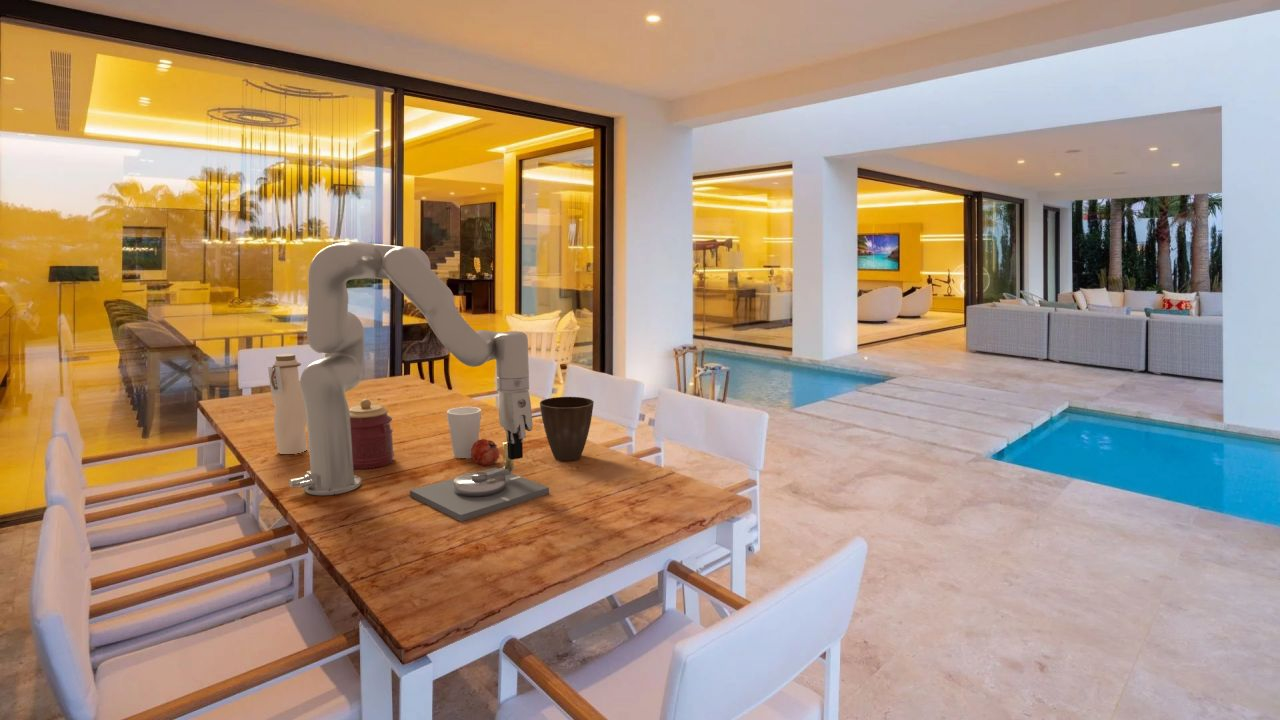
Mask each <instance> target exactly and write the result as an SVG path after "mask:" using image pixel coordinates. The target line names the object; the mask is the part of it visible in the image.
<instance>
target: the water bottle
mask: <svg viewBox="0 0 1280 720" xmlns="http://www.w3.org/2000/svg"><path fill="white" fill-rule="evenodd" d="M300 366H302V363H300V362H298V359H297V358H296V354H295V353H282V354H277V355H275V360H274V364H272V366H270V367H269V366H268V367H267V369H268V378H269V385H270V394H271V399H272V402H273V406H274V413H273V431H274V433H273V434H274V438H275V443H276V449H277V454H278V453H280V454H295V455H298V454H297V453H300V454H302V453H301V452H303V453H305V452H304V451H306V450H307V451H309V446H308V441H307V439H308V438H307V432H306V428H307V419H306V410H305V404H304V400H303V396H302V392H301V388H300V375H299V367H300ZM307 451H306V452H307ZM280 454H279V455H280Z"/></svg>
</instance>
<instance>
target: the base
mask: <svg viewBox="0 0 1280 720" xmlns="http://www.w3.org/2000/svg"><path fill="white" fill-rule="evenodd" d="M496 469H499V467H496V466H494V467H492V468H488V469H485V470H482V471H489V472H490V471H493V470H496ZM455 478H456V477H454V478H450V479H446V480H442V481H439V482H435V483H432V484H428V485H424V486H421V487H416V488H413V489H410V490H409V496H410V497H411V498H413V499H415V500H417V501H419V502H421V503H423V504H425V505H428V506H429V507H431V508H433V509H435V510H437V511H439V512H441V513H443V514H445V515H447V516H448V517H451V518H453V519H455V520H457V521H459V522H464V521H468V520H471V519H475V518H477V517H480V516H483V515H484V516H485V515H486V514H490V513H493V512H495V511H498V510H502V509H505V508H508V507H511V506H515V505H517V504H521V503H523V502H527V501H529V500H533V499H536V498H539V497H542V496H546V495H549V494H550V487H549V486H547V485H544V484H540V483H538V482H535V481H533V480H531V479H527V478H525V477H523V476H520V475H517V474H515V473H513V472H511V474H510V475H507V476H505V481H506V487H505V489H504V490H502V491H500V492H498V493H495V494H492V495H487V496H477V497H472V496H463V495H459V494H457V493H455V492H454V485H453V481H454V479H455Z"/></svg>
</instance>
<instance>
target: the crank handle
mask: <svg viewBox="0 0 1280 720" xmlns="http://www.w3.org/2000/svg"><path fill="white" fill-rule="evenodd" d="M502 445H503V446H502V449H503V450H502V451H503V454H502V455H503V457H502V458H503V467H500V468H499V467H498V468H499V469H496V470H493V471H490V472H489V471H483V470H481V471H473V472H467V473H463V474H461V475H458V476H456V477H454V478H455V479H454V481H453V485H454V492H455V493H457V494H459V495H463V496H472V497H477V496H487V495H492V494H495V493H498V492H500V491H502V490H504V489H505V487H506V481H505V476H507V475H510V474H511V473H512V472H513V471H514V470H515V467H514V460H511V459H509V458H508V445H507V440H506V441H503V442H502Z"/></svg>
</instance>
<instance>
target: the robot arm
mask: <svg viewBox="0 0 1280 720" xmlns="http://www.w3.org/2000/svg"><path fill="white" fill-rule="evenodd" d="M431 266H432V265H431V261H430V258H429V256H428V255H427V253H426V252H424V251H423V250H422V249H420V248H419V247H416V246H400V245H399V246H398V245H390V244H389V245H387V244H381V243H380V244H378V243H367V242H353V241H352V242H351V241H347V242H345V241H344V242H338V243H334V244H332V245H331V244H330V245H328V246H326V247H324V248H322V249H321V250H320V251H318V252H317V253H316V255H315V256H314V257H313V258H312V260H311V263H310V264H309V269H308V301H307V325H306V326H307V327H306V328H307V329H306V337H307V339H306V340H307V342H308V345H309V347H310V348H311V349H312V350H313V351H314V352H316V353H318V354H321V355H322V354H323V355H324V358H321V359H317V360H314V361H313V362H311V363H310V364H308V365H307V366H306V367H305V368H304V369H303V371H302V373H301V375H300V377H299V381H300V388H301V392H302V396H303V400H304V404H305V410H306V419H307V420H306V428H307V439H308V441H307V443H308V455H309V465H310V467H309V468H310V470H307V471H305V472H306V474H304V475H303V476H302V477H296V478H290V479H289V481H288V482H289V483H288V485H289V487H290V488H297V487H299V488H300V489H302V488H304V492H306V493H307V494H309V495H312V496H333V495H334V494H335V495H340V494H344V493H348V492H352V491H354V490H356V489H358V487H361V484H362V478H361V477H360V476H357V475H355V472H354V470H355V469H354V468H353V452H352V436H351V423H350V412H349V408H350V407H349V404H348V401H347V397H346V392H349V391H351V390H353V389H355V387H357V386H358V385H359V383H360V382H361V379H362V377H363V373H364V372H363V371H364V354H365V353H364V352H365V351H364V349H365V330H364V325H363V324H362V321H361V320H360V319H359V317H358V316H357V315H356V314H354V313H352V312H351V311H348V310H349V309H348V308H349V293H348V288H347V282H348V281H350V280H362V279H378V280H388V281H391V282H392V283H393V285H394V286H396V288H397V289H398V290H399V292H401V293H402V294H403V295H404V296H405V297H406V298H407V299H408V300H409V301H410V303H412V304H413V305H414V306H415V307H416V309H418V311H419V312H420V313H421V314H422V315H423V316H424V318H425V321H426V322H427V324H428V326H429V327H430V328H431V330H432V332H433V334H435V336H436V338H437V339H438V340H439V341H440V343H441V344H442V345H443V346H444V347H445V348H446V349H447V351H449V352H450V354H452V355H453V356H454V357H455V358H456V359H457V361H459V362H460V363H462V364H464V365H465V366H468V367H472V368H474V367H480V366H482V365H484V364H485V363H487V362H489V361H492V360H495V365H496V367H495V368H496V369H495V370H496V388H497V389H496V391H497V392H498V423H499V426H500V427H502V428H503V431H505V434H506V435H505V436H506V441H507V445H508V458H509V459H511V460H513V461H514V460H518V459H522V458H524V454H523V453H524V451H523V448H524V446H523V442H524V439H526V438H527V433H526V431H527V432H532V431H533V414H532V412H533V411H532V402H531V397H530V391H529V390H530V373H529V371H530V370H529V369H530V368H529V340H528V338H529V337H528V335H527V334H526V333H525V332H522V331H511V330H510V331H502V332H500V331H493V330H485V329H479V330H475V329H474V328H473V327H471V326H470V324H469V323H468V322H467V321H466V320H465V319H464V318H463V316H462V315H461V313H460V312H459V310H458V309H457V306H456V303H455V297H454V293H453V292H452V290H451V289H450V287H448V285H447V284H446V283H445V282H444V281H443V280H442V279H441V278H440V277H439V276H438V275H437V274H436V273H435V272H434V271H433V270H432V269H431Z"/></svg>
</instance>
